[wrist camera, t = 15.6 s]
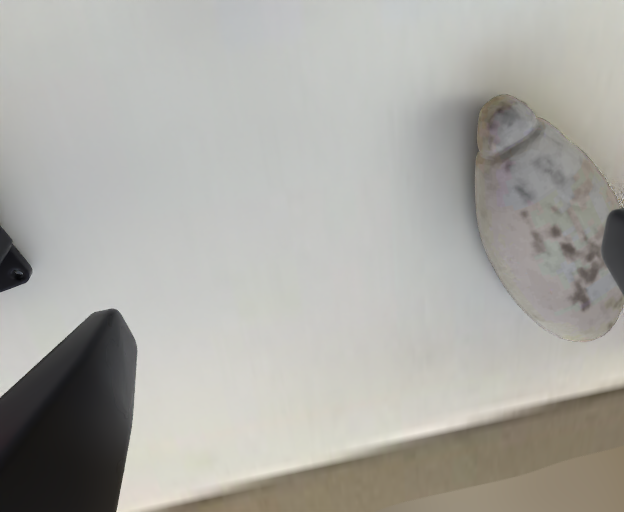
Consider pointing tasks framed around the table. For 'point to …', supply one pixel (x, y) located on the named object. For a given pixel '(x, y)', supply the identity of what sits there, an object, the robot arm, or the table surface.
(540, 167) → the decorative stone
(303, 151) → the table surface
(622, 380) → the table surface
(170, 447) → the table surface
